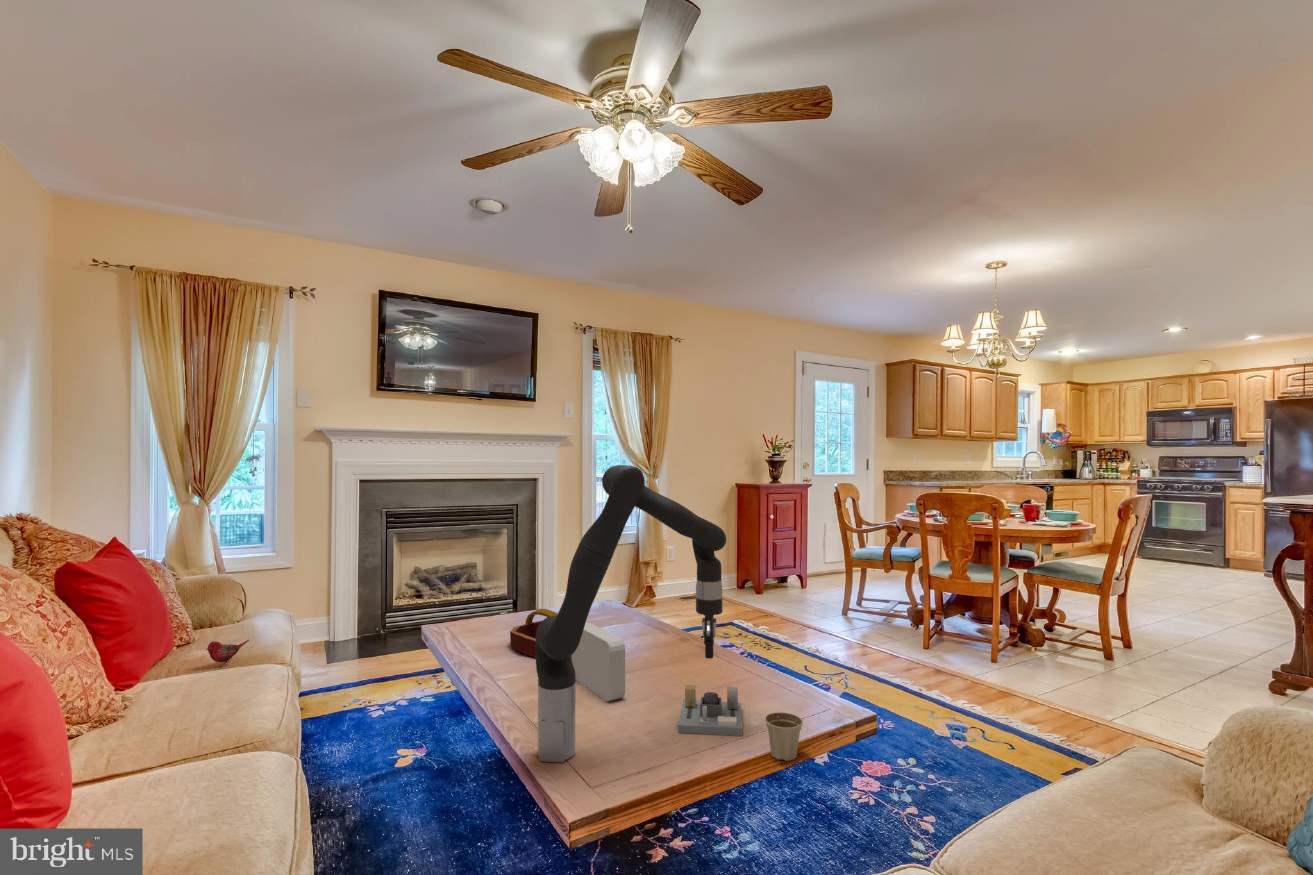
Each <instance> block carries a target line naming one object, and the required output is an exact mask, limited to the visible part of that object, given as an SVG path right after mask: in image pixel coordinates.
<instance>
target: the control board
mask: <svg viewBox="0 0 1313 875" xmlns="http://www.w3.org/2000/svg"><path fill="white" fill-rule="evenodd" d="M742 714H743V711H742V702H739V701H738V709H727V701H722V697H721V696H720V697H719V696H718V705H711V704H704V696H700V700H697V699H696V707H685V699H682V703H681V708H680V713H679V717H678V718H679V719H678V724H677V732H678V733H680V734H697V735H698V734H699V735H716V736H718V735H719V736H734V737H743V717H742Z"/></svg>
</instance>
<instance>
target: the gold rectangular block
mask: <svg viewBox="0 0 1313 875" xmlns="http://www.w3.org/2000/svg"><path fill="white" fill-rule="evenodd" d="M684 700H685V707H696V700H697V685H696V684H695V685H694V684H693V685H692V684H685V687H684Z"/></svg>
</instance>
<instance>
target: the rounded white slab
mask: <svg viewBox="0 0 1313 875" xmlns="http://www.w3.org/2000/svg"><path fill="white" fill-rule="evenodd" d="M571 657H572V663H573V666H574V669H575V673H576V681H577V682H578V683H579V684H581V685H582V686H584V687H585V688H586V689H588V690H589V691H590V692H592V693H593V694H594V695H596V696H597V697H599V698H601V699H602V700H603V701H605V702H611V701H615V700H620V699H623V698H624V697H625V695H626V645H625V643H624V640H623V639H622V638H621V637H619V636H618V635H615V634H613V633H611V632H609V631H608V630H605V629H603V628H601V627H599V626H597V625H595V624H593V623H591V622H588V621H587V620H586V623H585V626H584V630H583V633H582V636H581V640H580V643H579V645H578V647H577V649H576V651H575V652H574V653H573V654H572V655H571Z"/></svg>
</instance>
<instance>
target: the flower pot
mask: <svg viewBox="0 0 1313 875" xmlns="http://www.w3.org/2000/svg"><path fill="white" fill-rule="evenodd" d="M763 719H764V722H765V725H766V728H767V732H768V739H769V740H768V741H769V747H770V755H771V756H772V757H773V758H774V759H776V760H780V761H781V760H784V761H785V762H786V761H788V762H789V761H793V760H795V759H797V755H798V749H799V740H800V739H799V738H800V733H801V730H802V726H803V725H804V719H802V717H800V716H798V715H797V714H793V713H790V712H785V711H783V712H781V711H776V712H770V713H768V714H766V715H765V716H764V718H763Z"/></svg>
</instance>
